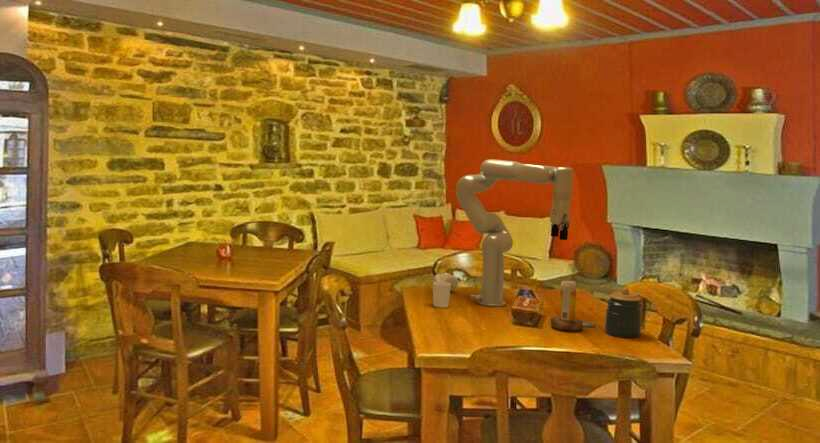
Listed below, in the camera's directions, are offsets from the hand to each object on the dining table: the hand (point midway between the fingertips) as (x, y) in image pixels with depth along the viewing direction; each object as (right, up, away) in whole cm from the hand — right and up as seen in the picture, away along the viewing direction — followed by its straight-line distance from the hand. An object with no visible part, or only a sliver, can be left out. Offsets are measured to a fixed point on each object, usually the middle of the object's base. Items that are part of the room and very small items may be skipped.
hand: (558, 238), depth 251 cm
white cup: (-49, -30, +11) cm, 58 cm away
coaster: (+8, -34, -12) cm, 37 cm away
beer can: (-1, -32, -17) cm, 36 cm away
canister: (+19, -36, -22) cm, 46 cm away
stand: (-1, -34, -17) cm, 39 cm away
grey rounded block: (-46, -28, +39) cm, 66 cm away
